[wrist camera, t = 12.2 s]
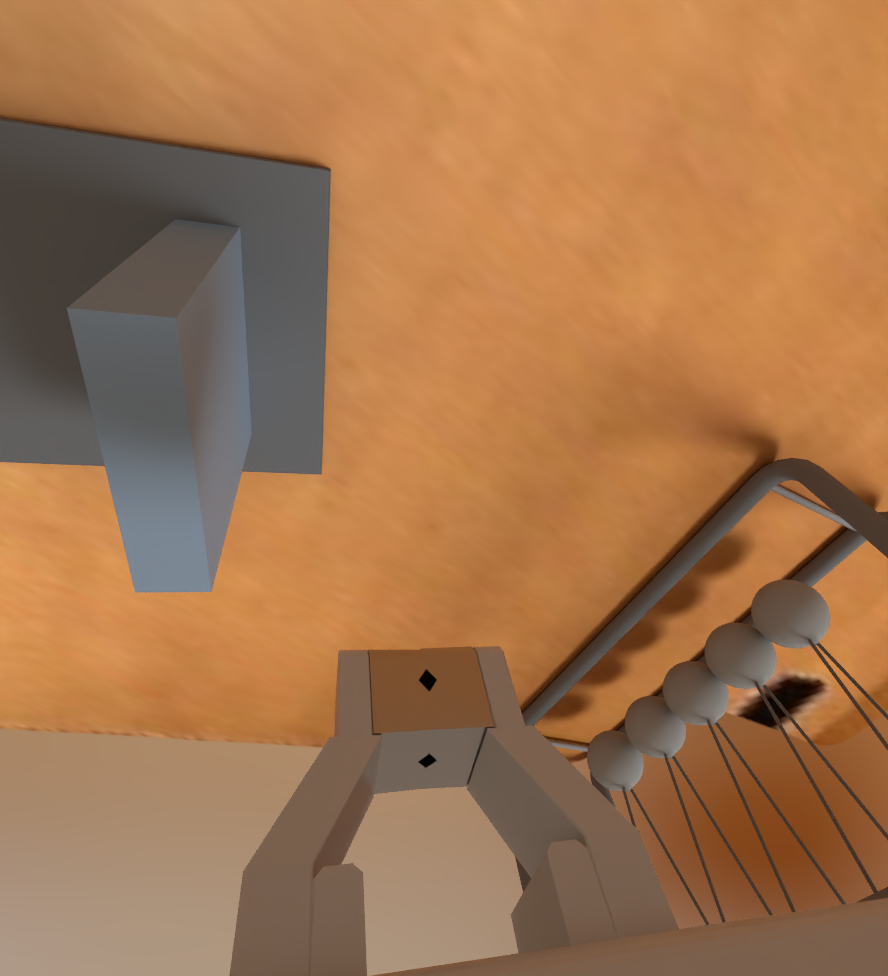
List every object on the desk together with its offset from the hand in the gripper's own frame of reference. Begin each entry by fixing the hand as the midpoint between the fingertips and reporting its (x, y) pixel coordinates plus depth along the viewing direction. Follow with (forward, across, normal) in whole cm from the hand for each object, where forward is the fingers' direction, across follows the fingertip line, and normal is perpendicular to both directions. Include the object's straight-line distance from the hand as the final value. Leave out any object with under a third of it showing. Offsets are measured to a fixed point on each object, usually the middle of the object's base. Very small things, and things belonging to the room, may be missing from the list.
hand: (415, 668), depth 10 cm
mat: (+15, +10, 0) cm, 18 cm away
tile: (+15, +6, 0) cm, 16 cm away
